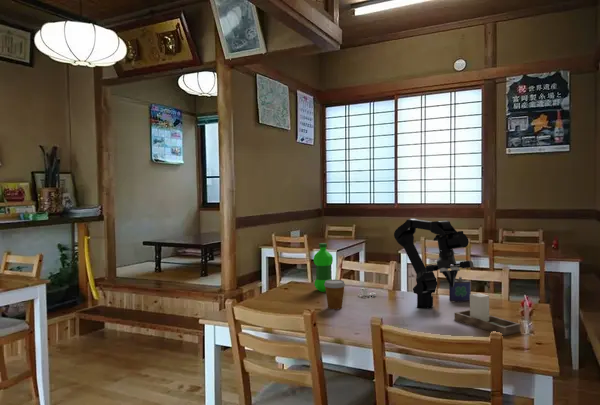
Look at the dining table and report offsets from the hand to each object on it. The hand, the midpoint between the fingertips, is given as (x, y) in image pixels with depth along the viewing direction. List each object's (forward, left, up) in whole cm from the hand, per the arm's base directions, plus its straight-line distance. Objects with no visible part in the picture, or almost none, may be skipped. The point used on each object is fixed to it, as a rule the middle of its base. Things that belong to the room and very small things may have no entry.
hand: (452, 287), depth 186 cm
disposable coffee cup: (-51, +1, -12) cm, 52 cm away
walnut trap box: (+12, -12, -12) cm, 20 cm away
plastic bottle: (-64, +33, -12) cm, 72 cm away
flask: (+4, +26, -12) cm, 29 cm away
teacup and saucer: (-38, +23, -13) cm, 47 cm away
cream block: (+10, -10, -11) cm, 17 cm away
